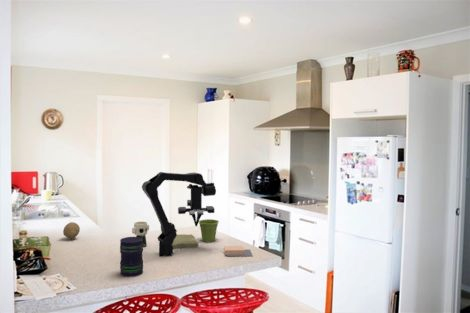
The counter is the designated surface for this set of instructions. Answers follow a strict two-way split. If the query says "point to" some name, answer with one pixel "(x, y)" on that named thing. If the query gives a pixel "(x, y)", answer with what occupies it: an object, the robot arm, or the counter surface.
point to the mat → (247, 254)
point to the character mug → (141, 230)
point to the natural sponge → (71, 230)
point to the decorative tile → (185, 241)
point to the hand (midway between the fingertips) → (196, 226)
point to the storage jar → (131, 256)
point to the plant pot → (208, 229)
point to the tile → (234, 250)
